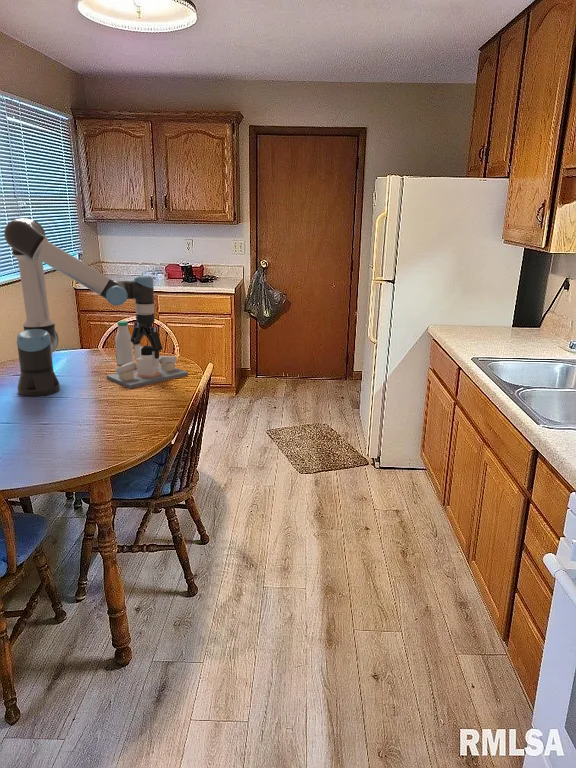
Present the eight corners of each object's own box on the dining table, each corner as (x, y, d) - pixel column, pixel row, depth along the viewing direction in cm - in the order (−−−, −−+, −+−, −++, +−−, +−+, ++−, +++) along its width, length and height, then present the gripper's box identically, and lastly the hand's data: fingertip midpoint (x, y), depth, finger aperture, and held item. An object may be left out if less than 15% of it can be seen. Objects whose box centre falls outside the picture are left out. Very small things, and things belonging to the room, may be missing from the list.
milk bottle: (137, 363, 261) (134, 321, 255) (124, 366, 254) (121, 323, 248) (125, 360, 265) (123, 319, 259) (112, 364, 258) (110, 321, 252)
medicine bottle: (158, 371, 243) (157, 344, 239) (153, 376, 236) (152, 348, 233) (142, 370, 244) (141, 343, 240) (136, 375, 237) (135, 347, 233)
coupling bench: (129, 388, 225) (128, 369, 222) (106, 378, 236) (105, 360, 234) (188, 375, 245) (187, 357, 243) (164, 366, 257) (163, 349, 254)
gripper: (170, 317, 227) (171, 366, 233) (136, 308, 243) (138, 355, 249) (154, 319, 222) (156, 370, 228) (121, 309, 238) (123, 357, 244)
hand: (146, 362), depth 239 cm, fingers open, 13 cm apart
